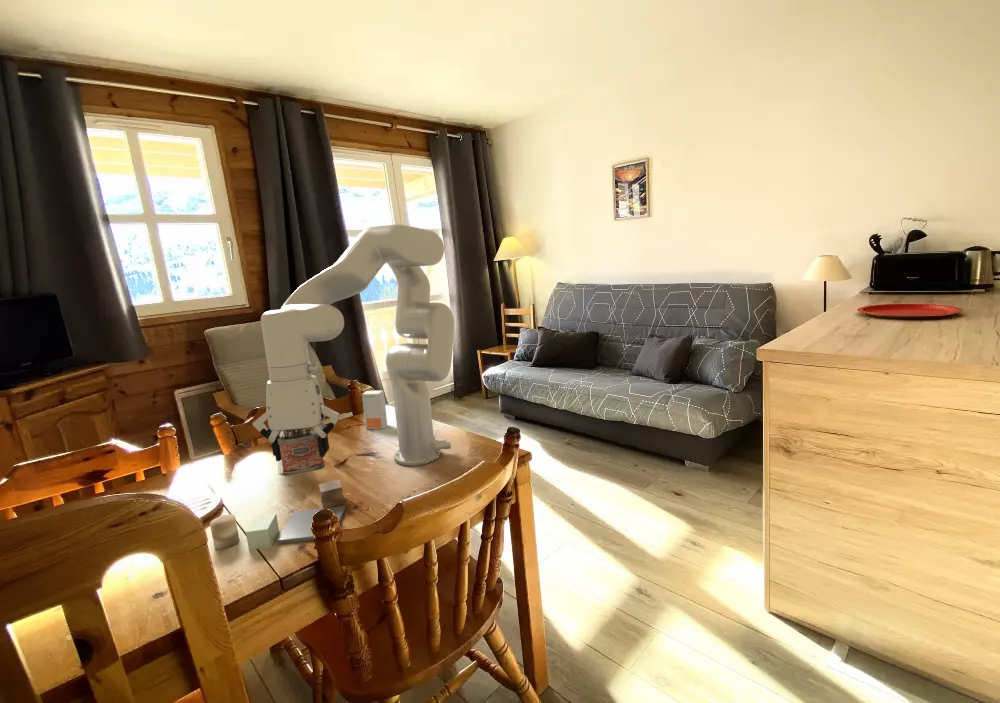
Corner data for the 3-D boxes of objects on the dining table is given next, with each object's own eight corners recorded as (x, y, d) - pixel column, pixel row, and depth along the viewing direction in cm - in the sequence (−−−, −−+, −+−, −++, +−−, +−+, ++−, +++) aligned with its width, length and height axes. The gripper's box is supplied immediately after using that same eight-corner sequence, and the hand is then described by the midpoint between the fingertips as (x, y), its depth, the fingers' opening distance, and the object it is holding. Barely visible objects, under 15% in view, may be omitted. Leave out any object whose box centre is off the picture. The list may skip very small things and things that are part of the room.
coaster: (345, 509, 108) (344, 506, 107) (334, 537, 97) (333, 533, 97) (294, 515, 106) (293, 511, 106) (276, 544, 96) (276, 540, 96)
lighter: (282, 478, 96) (275, 430, 94) (282, 471, 99) (275, 425, 97) (325, 468, 99) (319, 422, 97) (324, 462, 102) (318, 417, 100)
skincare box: (365, 429, 158) (361, 394, 156) (370, 424, 162) (366, 390, 160) (382, 429, 157) (378, 393, 155) (388, 424, 161) (384, 390, 159)
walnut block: (341, 497, 114) (339, 479, 113) (344, 505, 110) (342, 487, 109) (321, 502, 112) (318, 484, 111) (323, 511, 108) (320, 492, 107)
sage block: (276, 513, 100) (255, 516, 99) (267, 529, 94) (245, 532, 94) (279, 531, 101) (258, 533, 100) (270, 547, 95) (248, 550, 94)
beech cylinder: (242, 535, 100) (238, 513, 99) (234, 547, 95) (230, 524, 94) (219, 538, 99) (215, 516, 98) (210, 551, 95) (205, 527, 94)
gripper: (339, 364, 100) (349, 445, 103) (251, 371, 98) (264, 453, 101) (331, 373, 92) (342, 459, 96) (235, 380, 91) (250, 468, 94)
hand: (302, 456), depth 98 cm, fingers closed on lighter, 8 cm apart
